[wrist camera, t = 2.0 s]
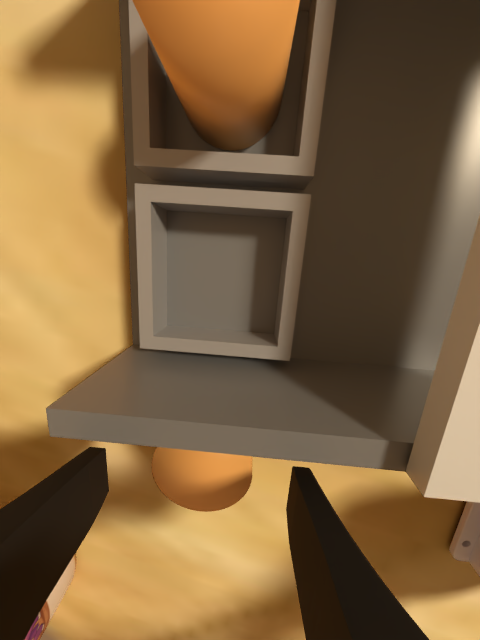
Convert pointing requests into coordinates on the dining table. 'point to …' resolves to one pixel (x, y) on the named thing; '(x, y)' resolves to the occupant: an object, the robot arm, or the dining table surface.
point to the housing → (289, 225)
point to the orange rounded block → (201, 477)
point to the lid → (454, 401)
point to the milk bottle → (52, 602)
